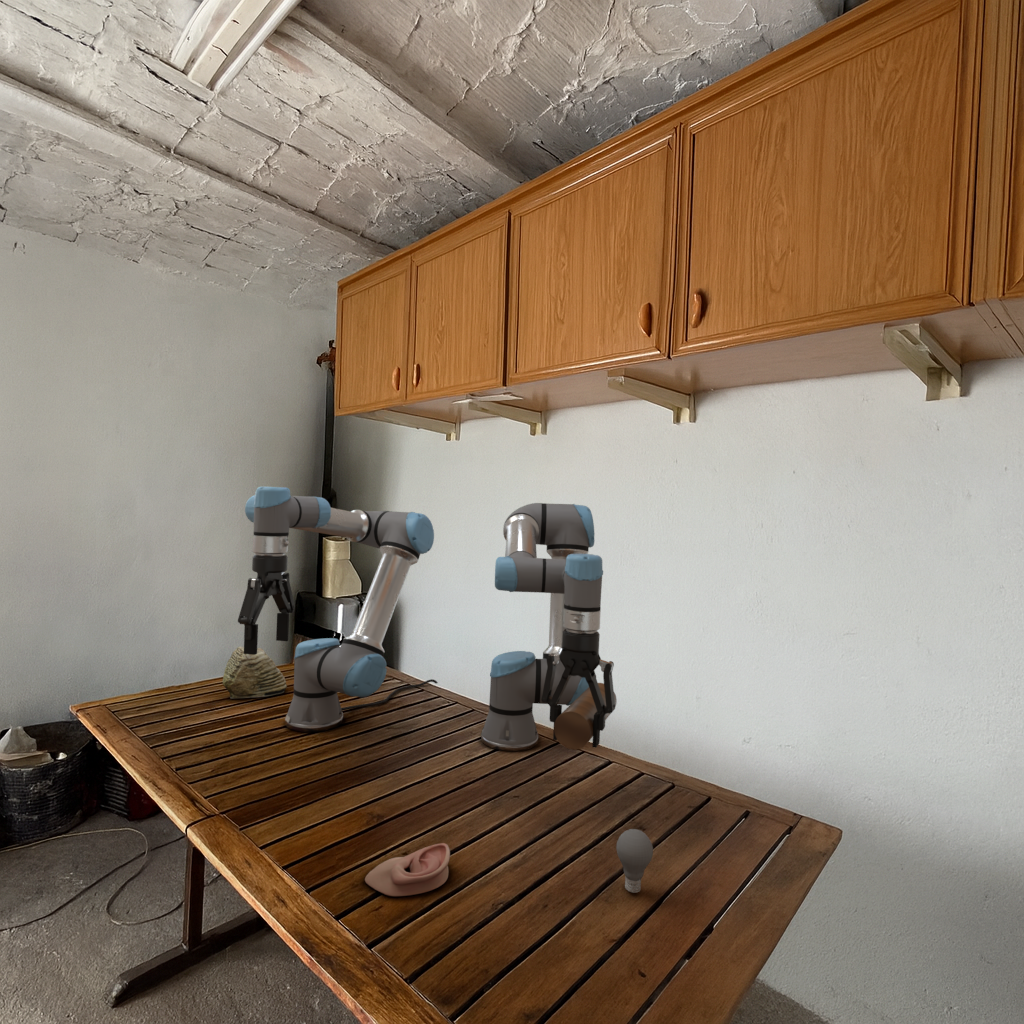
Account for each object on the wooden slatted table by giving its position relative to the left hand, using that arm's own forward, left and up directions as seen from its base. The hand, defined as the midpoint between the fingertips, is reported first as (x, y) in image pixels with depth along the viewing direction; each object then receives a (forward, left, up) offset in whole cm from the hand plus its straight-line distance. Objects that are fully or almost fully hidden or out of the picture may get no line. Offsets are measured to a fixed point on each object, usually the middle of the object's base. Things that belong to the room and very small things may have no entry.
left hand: (267, 647), depth 145 cm
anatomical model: (+5, +55, -28) cm, 62 cm away
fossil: (-27, -51, -28) cm, 64 cm away
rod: (-39, +62, -13) cm, 74 cm away
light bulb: (-18, +85, -28) cm, 91 cm away
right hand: (-31, +64, -13) cm, 73 cm away
